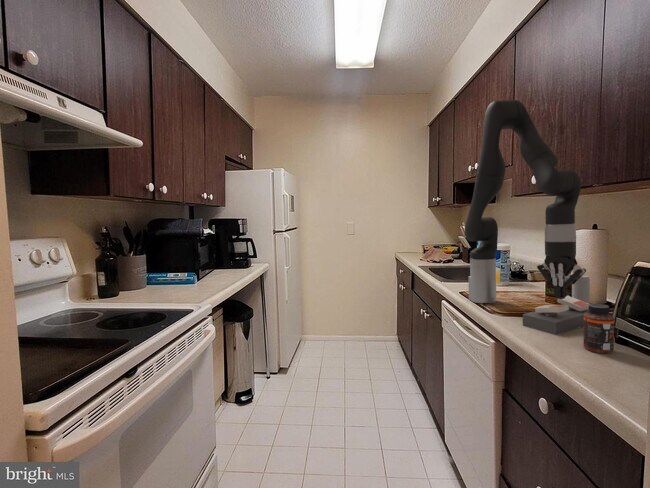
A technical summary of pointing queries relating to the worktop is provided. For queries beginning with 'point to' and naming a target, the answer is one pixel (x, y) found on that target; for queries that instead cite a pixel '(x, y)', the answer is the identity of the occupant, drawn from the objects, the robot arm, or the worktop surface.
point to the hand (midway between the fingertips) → (560, 298)
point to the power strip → (555, 320)
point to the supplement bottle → (599, 329)
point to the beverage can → (582, 289)
